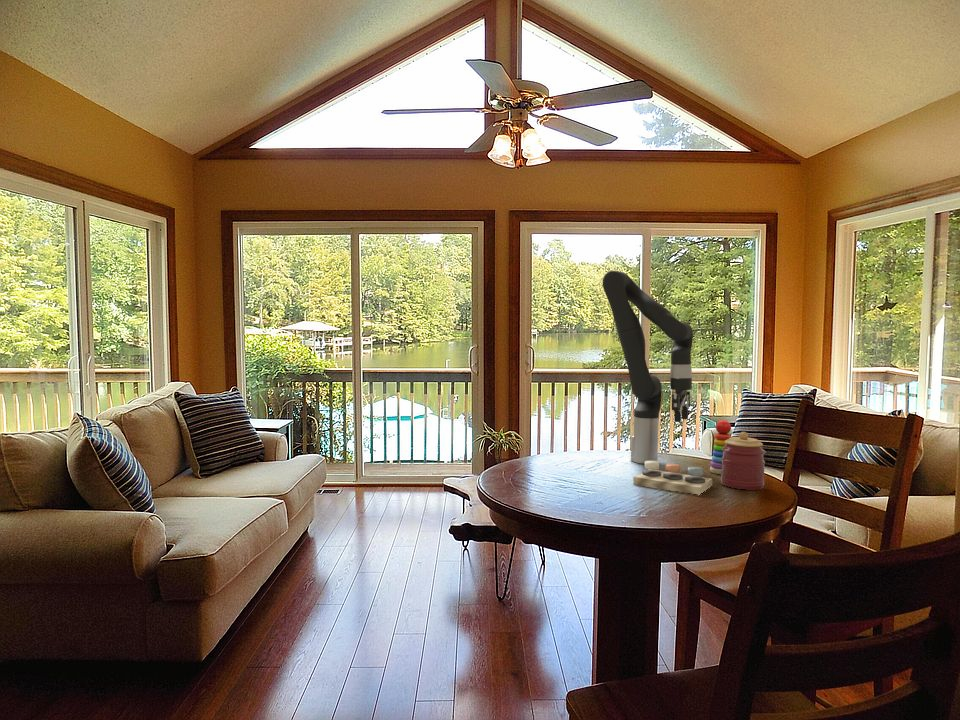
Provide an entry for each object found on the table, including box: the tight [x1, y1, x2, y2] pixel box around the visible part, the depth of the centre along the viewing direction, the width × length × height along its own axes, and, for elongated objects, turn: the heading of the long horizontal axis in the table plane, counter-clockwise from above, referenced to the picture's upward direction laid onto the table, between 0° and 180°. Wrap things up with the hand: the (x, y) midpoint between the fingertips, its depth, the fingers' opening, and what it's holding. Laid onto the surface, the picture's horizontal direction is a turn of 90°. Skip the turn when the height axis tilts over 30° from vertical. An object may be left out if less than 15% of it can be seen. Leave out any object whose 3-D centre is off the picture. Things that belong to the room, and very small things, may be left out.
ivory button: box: [644, 461, 660, 471], centre depth 194 cm, size 5×5×2 cm
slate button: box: [686, 466, 704, 477], centre depth 185 cm, size 5×5×2 cm
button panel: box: [632, 469, 713, 496], centre depth 190 cm, size 21×14×3 cm, turn 54°
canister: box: [720, 431, 766, 491], centre depth 190 cm, size 13×13×18 cm
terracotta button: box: [665, 463, 682, 474], centre depth 189 cm, size 5×5×2 cm
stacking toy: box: [709, 419, 732, 475], centre depth 208 cm, size 8×8×19 cm
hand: (681, 420), depth 216 cm, fingers open, 8 cm apart
